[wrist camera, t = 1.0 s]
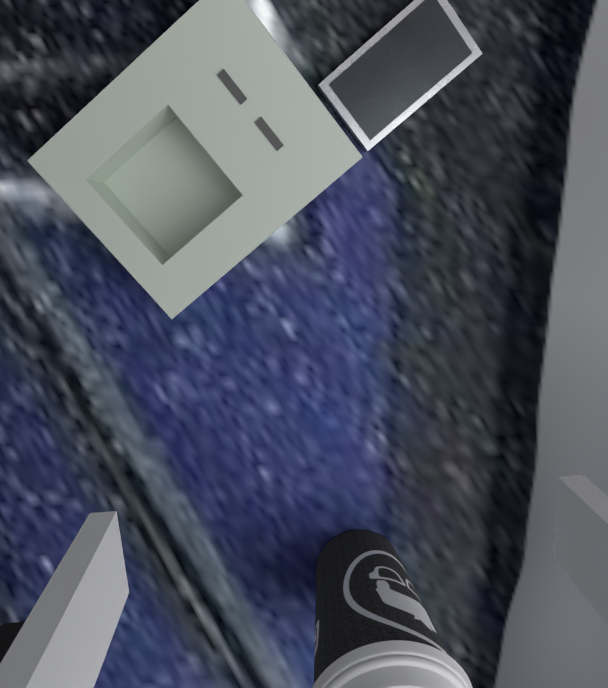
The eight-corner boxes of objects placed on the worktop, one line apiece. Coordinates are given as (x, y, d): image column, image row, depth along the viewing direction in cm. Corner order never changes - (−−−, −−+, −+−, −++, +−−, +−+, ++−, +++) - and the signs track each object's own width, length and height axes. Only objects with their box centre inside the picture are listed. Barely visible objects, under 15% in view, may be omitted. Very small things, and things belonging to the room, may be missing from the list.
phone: (317, 88, 35) (318, 84, 34) (430, -12, 34) (435, -19, 33) (365, 152, 36) (368, 150, 35) (476, 57, 35) (482, 53, 34)
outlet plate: (232, 2, 33) (225, -26, 29) (353, 162, 36) (362, 156, 32) (54, 166, 35) (26, 160, 31) (182, 307, 38) (171, 319, 34)
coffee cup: (288, 522, 42) (294, 688, 27) (411, 503, 42) (482, 658, 27) (306, 626, 44) (320, 830, 30) (422, 608, 44) (493, 802, 30)
